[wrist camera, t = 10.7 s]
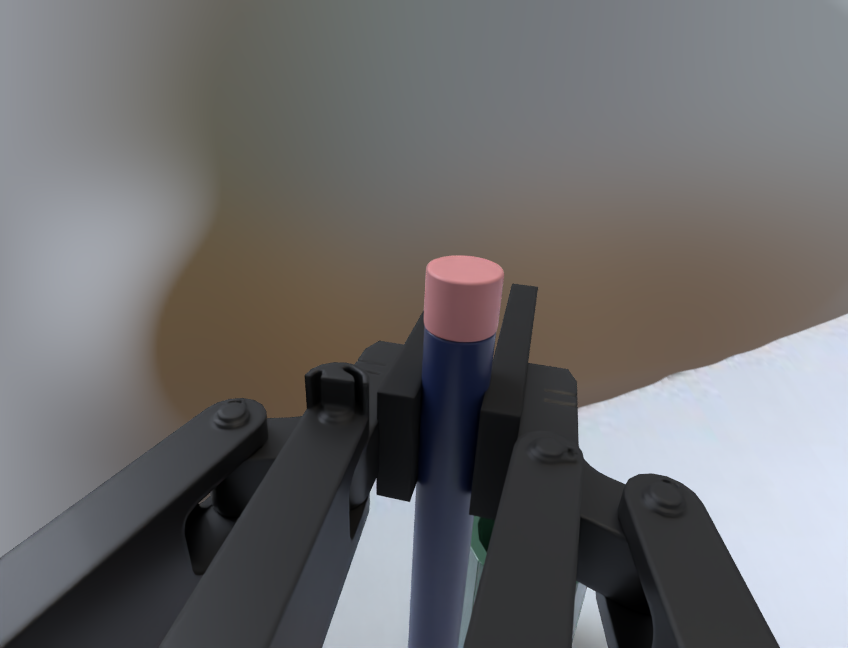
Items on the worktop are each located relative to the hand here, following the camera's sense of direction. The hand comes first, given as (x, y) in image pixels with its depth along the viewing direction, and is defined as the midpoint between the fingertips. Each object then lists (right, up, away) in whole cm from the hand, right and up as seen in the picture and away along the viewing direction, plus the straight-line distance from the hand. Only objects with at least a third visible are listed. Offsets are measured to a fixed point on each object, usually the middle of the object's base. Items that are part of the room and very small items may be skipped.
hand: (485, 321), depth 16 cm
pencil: (-2, -15, +2) cm, 15 cm away
